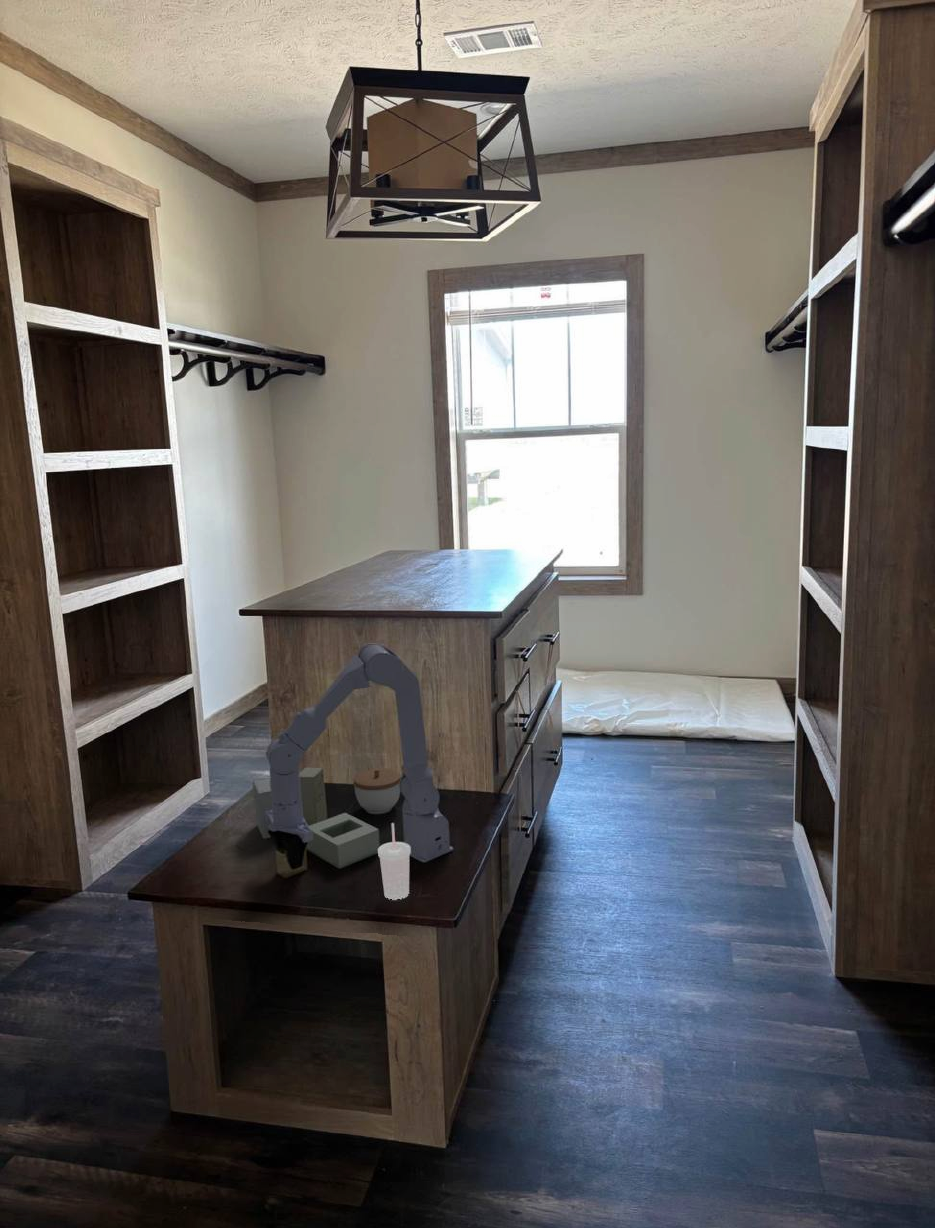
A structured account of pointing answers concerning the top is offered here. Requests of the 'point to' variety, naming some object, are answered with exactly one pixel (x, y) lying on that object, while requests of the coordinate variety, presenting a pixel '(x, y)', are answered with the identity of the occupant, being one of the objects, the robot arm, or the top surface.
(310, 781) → the skincare box
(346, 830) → the slot box
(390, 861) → the beverage cup
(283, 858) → the wooden rectangular block
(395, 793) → the lidded jar
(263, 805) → the small box
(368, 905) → the top surface
